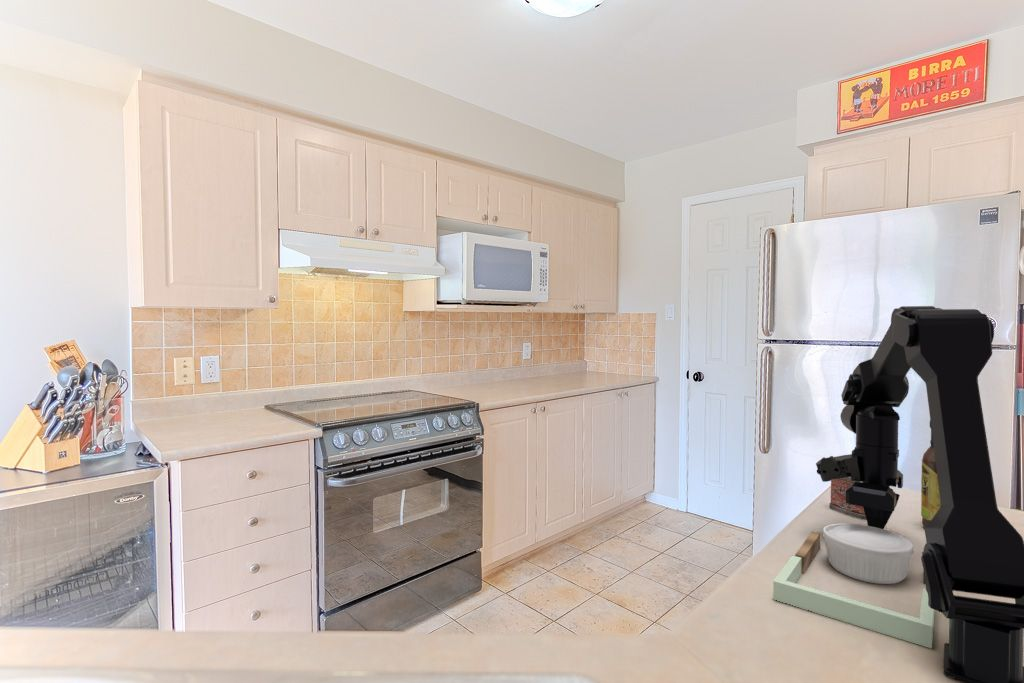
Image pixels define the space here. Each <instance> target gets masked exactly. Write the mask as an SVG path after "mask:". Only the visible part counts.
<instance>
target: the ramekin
mask: <svg viewBox="0 0 1024 683" xmlns="http://www.w3.org/2000/svg"><path fill="white" fill-rule="evenodd" d="M822 535H823V538H824V541H825V542H824V543H825V549H826V555H827V559H828V561H829V564H830V565H831V566H832V568H834V570H836V571H838V572H839V573H840V574H842V575H845V576H848V577H849V578H853V579H856V580H858V581H862V582H865V583H871V584H877V585H895V584H898V583H900V582H902V581H903V580H905V578H907V576H908V570H909V566H910V562H911V556H912V555H913V553H914V545H913V542H911V541H910V540H909V539H908V538H906V537H905V536H903V535H900V534H899V533H895V532H893V531H891V530H887V529H885V528H884V529H880V528H876V527H871V526H868V525H865V524H857V523H833V524H832V523H831V524H828V525H826V526H824V527H823V528H822Z"/></svg>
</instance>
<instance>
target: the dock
mask: <svg viewBox="0 0 1024 683" xmlns="http://www.w3.org/2000/svg"><path fill="white" fill-rule="evenodd" d="M801 560H802V558H801V557H797V556H795V555H792V556H790V558H789V560H788V561H787V562H786V563H785V565H783V568H782V569H781V570H780V572H779V573H778V574H777V575H776V577H775V578H774V580H773V593H772V594H773V597H772V598H773V599H774V600H773V601H776V600H777V601H776V602H779V601H780V602H779V603H782V602H783V604H785V603H787V604H786V605H789V604H790V605H789V606H792V605H793V607H795V606H796V608H798V607H799V608H798V609H803V610H805V611H808V610H809V611H808V612H811V611H812V613H815V614H819V615H821V616H825V617H828V618H831V619H834V620H837V621H841V622H844V623H847V624H850V625H853V626H854V625H855V626H857V627H861V628H863V629H867V630H870V631H872V632H873V631H874V632H876V633H880V634H883V635H887V636H889V637H893V638H895V639H898V640H899V639H900V640H902V641H906V642H909V643H912V644H916V645H919V646H922V647H924V648H925V647H926V648H929V649H932V650H933V638H934V628H935V627H934V625H935V611H936V610H934V609H932V608H930V607H929V606H928V593H927V591H926V588H923V589H922V594H921V595H922V596H921V602H920V610H919V617H915V616H912V615H909V614H905V613H901V612H898V611H894V610H891V609H887V608H884V607H880V606H877V605H874V604H869V603H866V602H862V601H858V600H855V599H852V598H849V597H844V596H842V595H838V594H834V593H830V592H829V591H828V592H827V591H823V590H820V589H816V588H813V587H810V586H806V585H802V584H799V583H797V582H798V581H799V579H800V577H801V576H802V573H801Z"/></svg>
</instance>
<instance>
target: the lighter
mask: <svg viewBox="0 0 1024 683" xmlns="http://www.w3.org/2000/svg"><path fill="white" fill-rule="evenodd" d="M854 482H857V481H851V476H850V477H845V478H839V479H832V480H831V481H830V502H829V506H828V507H829V509H830V510H833V511H835V512H838V513H840V514H843V515H845V514H846V515H845V516H849V515H850V517H852V518H855V517H856V519H859V518H860V519H859V520H863V519H864V520H865V521H867V519H866V516H865V512H864V509H863V506H857V505H852V504H848V503H846V502H845V499H846V490H847V488H848V487H849V486H850V485H851V484H853V483H854Z"/></svg>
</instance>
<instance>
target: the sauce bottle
mask: <svg viewBox="0 0 1024 683" xmlns="http://www.w3.org/2000/svg"><path fill="white" fill-rule="evenodd" d="M929 428H930V441H929V442H930V445H929V447H928V448H927V449H926V451H925V452H924V453H923V456H922V459H921V478H920V479H921V481H920V482H921V484H920V485H921V486H920V487H921V491H920V492H921V494H920V496H921V498H920V499H921V500H920V502H921V503H920V504H921V505H920V515H921V517H922V520H921V524H922V527H924V526H925V524H926V522H927V521H928V520H932V519H933V517H934V516H935V514H936V513H937V511H938V510H939V508H940V506H941V502H940V493H939V485H938V477H937V469H936V461H935V453H934V445H933V437H932V429H931V421H930V420H929Z"/></svg>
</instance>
